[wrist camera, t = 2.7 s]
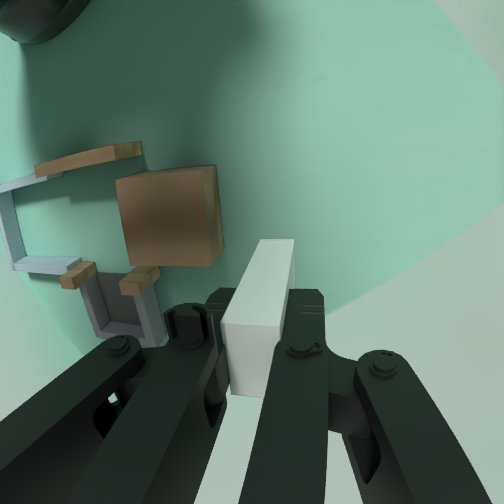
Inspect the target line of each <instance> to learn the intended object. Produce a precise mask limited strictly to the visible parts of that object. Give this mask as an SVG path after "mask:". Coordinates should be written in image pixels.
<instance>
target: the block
mask: <svg viewBox="0 0 504 504" xmlns="http://www.w3.org/2000/svg"><path fill="white" fill-rule="evenodd" d="M115 184H116V191H117V198H118V204H119V210H120V216H121V221H122V227H123V232H124V237H125V242H126V247H127V252H128V256H129V261H130V265H136V266H171V267H211V266H212V265H213V264H214V262H215V261H216V259H217V258H218V256H219V255H220V254H221V252H222V251H223V249H224V243H223V233H222V223H221V213H220V203H219V192H218V181H217V169H216V165H204V166H193V167H183V168H173V169H164V170H155V171H147V172H139V173H136V174H133V175H129V176H126V177H123V178H120V179H117V180H115Z"/></svg>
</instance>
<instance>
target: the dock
mask: <svg viewBox="0 0 504 504" xmlns="http://www.w3.org/2000/svg"><path fill="white" fill-rule="evenodd" d="M63 175H64V173H63V172H58V173H54V174H50V175H47V176H43V177H39V178H36V177H35V173H34V174H31V175H27V176H24V177H21V178H18V179H15V180H12V181H9V182H6V183H3V184H0V229H1V233H2V237H3V241H4V245H5V248H6V252H7V255H8V259H9V262H10V265H11V268H12V270H13V271H22V272H32V273H43V274H55V275H63V274H64V273H66V272H67V271H69V270H70V269H72V268H73V267H74V266H76V265H77V264H79V263H80V262H82V261H81V258H80V257H46V256H26V253H25V250H24V246H23V242H22V238H21V234H20V230H19V226H18V222H17V217H16V212H15V207H14V202H13V197H12V191H11V190H12V189H15V188H19V187H23V186H26V185H30V184H34V183H38V182H42V181H46V180H50V179H53V178H56V177H60V176H63Z"/></svg>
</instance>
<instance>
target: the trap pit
mask: <svg viewBox="0 0 504 504" xmlns="http://www.w3.org/2000/svg"><path fill="white" fill-rule="evenodd" d="M126 275H128V274H118V273H99V272H97V273H96V274H94V275H93V276H92V277H91V278H89V279H88V280H87V281H85V282H84V283H83V284H82V285H80V286H79V288H80V291H81V294H82V297H83V300H84V303H85V306H86V309H87V312H88V315H89V318H90V320H91V323H92V326H93V328H94V331H95V334H96V336H97V337H98V338H103V339H109V338H110V337H114V336H117V335H131V336H134V337H136V338H137V339H139V342H140V344H141V346H146V347H158V346H159V344H160V343H161V341H162V340H163V338H164V337H165V335H166V332H165V329H164V325H163V321H162V317H161V313H160V309H159V305H158V301H157V296H156V292H155V288H154V283H153V284H152V285H151V286H150V287H149V288H148V289H147V290H146V292H145V293H144V294H143V295H142V296H130V295H122V293H121V290H120V286H119V282H120V281H121V280H122V279H123V278H124V277H125V276H126Z"/></svg>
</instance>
